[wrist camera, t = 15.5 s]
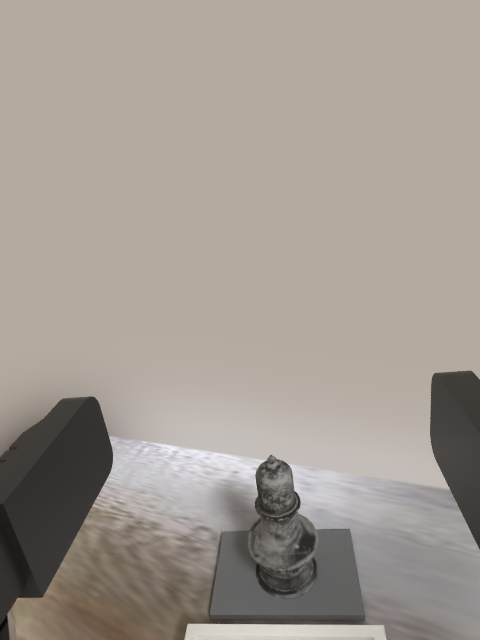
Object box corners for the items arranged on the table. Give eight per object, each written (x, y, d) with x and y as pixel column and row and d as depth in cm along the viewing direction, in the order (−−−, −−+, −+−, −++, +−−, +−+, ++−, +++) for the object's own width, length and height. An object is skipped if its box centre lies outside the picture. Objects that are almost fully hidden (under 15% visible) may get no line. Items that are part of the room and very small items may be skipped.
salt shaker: (247, 548, 39) (228, 439, 35) (309, 534, 40) (298, 425, 36) (259, 610, 34) (238, 490, 30) (331, 593, 34) (320, 472, 30)
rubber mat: (349, 533, 40) (349, 528, 40) (364, 620, 33) (364, 615, 32) (223, 536, 42) (222, 531, 41) (210, 619, 34) (209, 614, 34)
